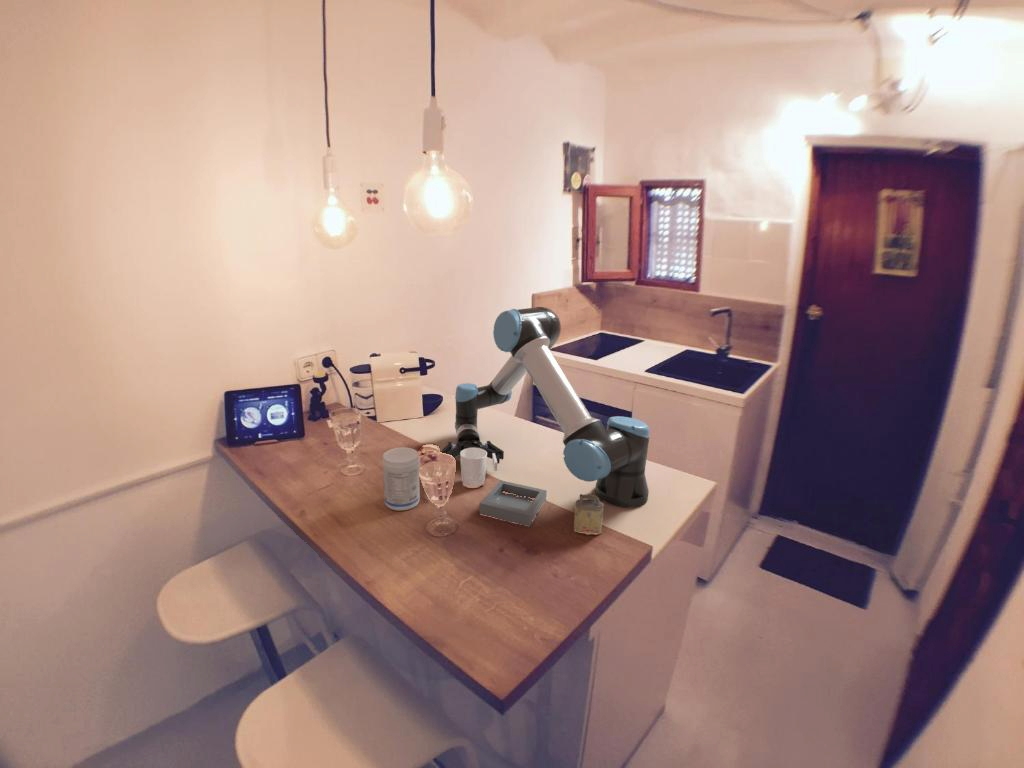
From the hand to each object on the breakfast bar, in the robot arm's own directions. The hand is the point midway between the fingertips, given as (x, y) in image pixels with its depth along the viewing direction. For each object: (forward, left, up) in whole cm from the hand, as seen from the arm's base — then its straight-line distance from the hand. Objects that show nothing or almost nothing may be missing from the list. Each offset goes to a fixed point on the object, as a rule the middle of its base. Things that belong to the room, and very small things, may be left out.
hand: (473, 467), depth 145 cm
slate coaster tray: (-16, +7, -6) cm, 18 cm away
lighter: (-37, +10, -6) cm, 38 cm away
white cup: (0, -1, -6) cm, 6 cm away
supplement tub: (+13, +17, -6) cm, 22 cm away
